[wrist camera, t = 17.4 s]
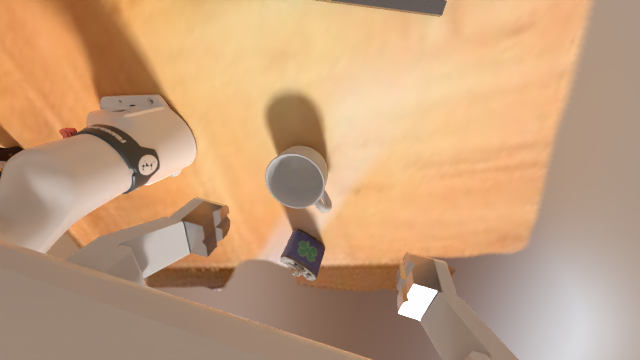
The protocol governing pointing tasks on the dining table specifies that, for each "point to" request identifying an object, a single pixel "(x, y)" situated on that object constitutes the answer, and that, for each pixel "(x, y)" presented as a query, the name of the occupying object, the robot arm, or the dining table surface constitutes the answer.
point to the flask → (303, 254)
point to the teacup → (299, 178)
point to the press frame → (400, 5)
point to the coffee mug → (7, 155)
